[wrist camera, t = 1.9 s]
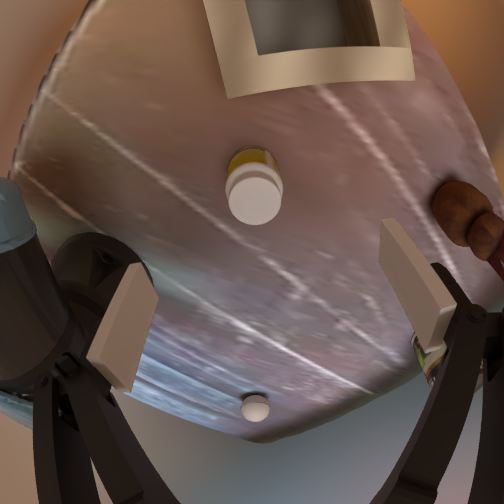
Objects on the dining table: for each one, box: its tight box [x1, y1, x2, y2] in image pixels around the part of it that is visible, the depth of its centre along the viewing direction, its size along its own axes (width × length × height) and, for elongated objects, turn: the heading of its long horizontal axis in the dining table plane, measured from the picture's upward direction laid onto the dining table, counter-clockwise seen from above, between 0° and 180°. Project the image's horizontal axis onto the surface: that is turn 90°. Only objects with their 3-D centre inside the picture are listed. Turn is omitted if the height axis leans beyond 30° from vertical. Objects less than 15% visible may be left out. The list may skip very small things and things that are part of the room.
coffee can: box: [411, 333, 483, 393], centre depth 39 cm, size 10×10×14 cm
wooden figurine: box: [432, 181, 504, 281], centre depth 24 cm, size 7×6×15 cm
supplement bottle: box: [225, 146, 283, 225], centre depth 25 cm, size 5×5×8 cm
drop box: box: [203, 0, 415, 99], centre depth 16 cm, size 12×12×11 cm
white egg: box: [237, 395, 270, 422], centre depth 51 cm, size 8×6×6 cm
